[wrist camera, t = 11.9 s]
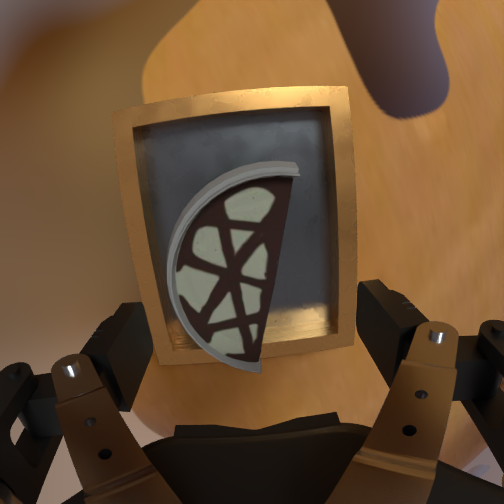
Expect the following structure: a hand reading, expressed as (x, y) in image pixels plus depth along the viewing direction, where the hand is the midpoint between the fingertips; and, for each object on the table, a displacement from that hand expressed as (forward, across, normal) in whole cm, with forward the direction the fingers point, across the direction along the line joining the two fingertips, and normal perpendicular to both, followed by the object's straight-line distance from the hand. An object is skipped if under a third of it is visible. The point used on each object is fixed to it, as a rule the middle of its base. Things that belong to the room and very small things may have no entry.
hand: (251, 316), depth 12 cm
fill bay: (+16, 0, 0) cm, 16 cm away
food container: (+15, +2, 0) cm, 15 cm away
